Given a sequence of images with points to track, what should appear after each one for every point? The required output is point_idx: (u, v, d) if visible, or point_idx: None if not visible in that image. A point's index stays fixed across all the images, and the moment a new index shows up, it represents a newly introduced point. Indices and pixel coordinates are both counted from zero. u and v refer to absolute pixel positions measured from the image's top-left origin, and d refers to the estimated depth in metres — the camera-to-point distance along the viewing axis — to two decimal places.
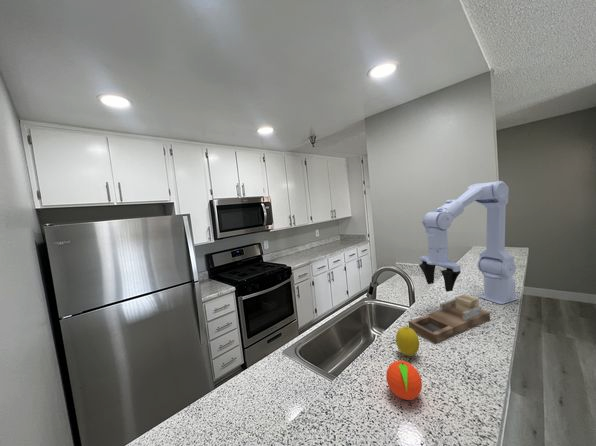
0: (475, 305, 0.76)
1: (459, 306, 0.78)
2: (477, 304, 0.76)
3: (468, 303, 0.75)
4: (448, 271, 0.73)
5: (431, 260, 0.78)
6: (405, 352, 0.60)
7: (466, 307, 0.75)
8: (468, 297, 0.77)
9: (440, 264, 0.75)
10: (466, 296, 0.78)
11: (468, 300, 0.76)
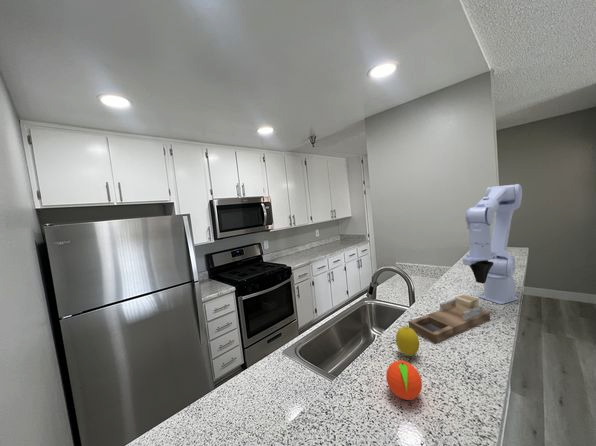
0: (475, 305, 0.76)
1: (459, 306, 0.78)
2: (477, 304, 0.76)
3: (468, 303, 0.75)
4: None
5: None
6: (405, 352, 0.60)
7: (466, 307, 0.75)
8: (468, 297, 0.77)
9: None
10: (466, 296, 0.78)
11: (468, 300, 0.76)
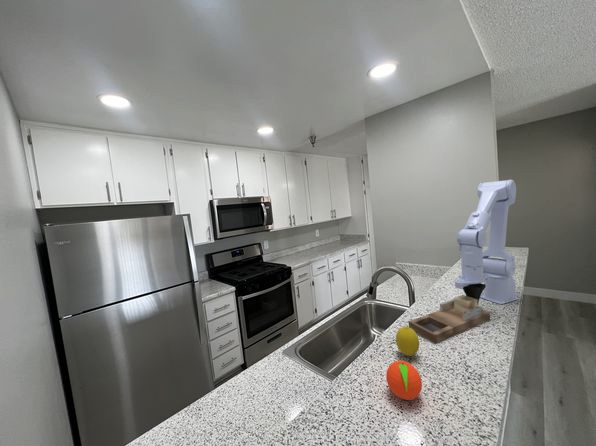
0: (474, 305, 0.75)
1: (458, 306, 0.77)
2: (476, 304, 0.76)
3: (467, 303, 0.74)
4: None
5: None
6: (405, 352, 0.60)
7: (465, 308, 0.75)
8: (467, 298, 0.77)
9: (459, 279, 0.79)
10: (465, 297, 0.78)
11: (467, 300, 0.75)
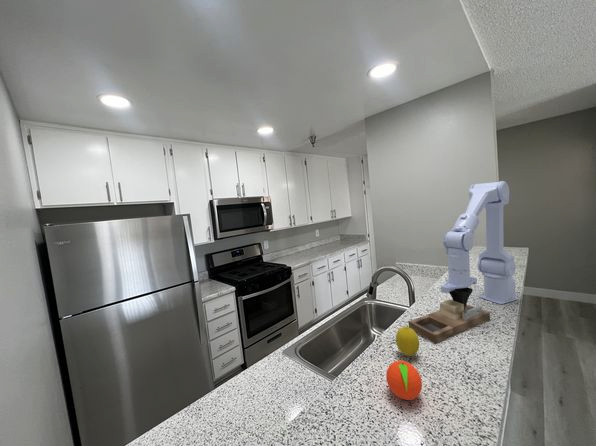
0: (460, 311, 0.73)
1: (444, 311, 0.75)
2: (462, 310, 0.73)
3: (452, 309, 0.72)
4: None
5: None
6: (405, 352, 0.60)
7: (451, 313, 0.73)
8: (453, 302, 0.75)
9: None
10: (452, 301, 0.76)
11: (453, 305, 0.73)
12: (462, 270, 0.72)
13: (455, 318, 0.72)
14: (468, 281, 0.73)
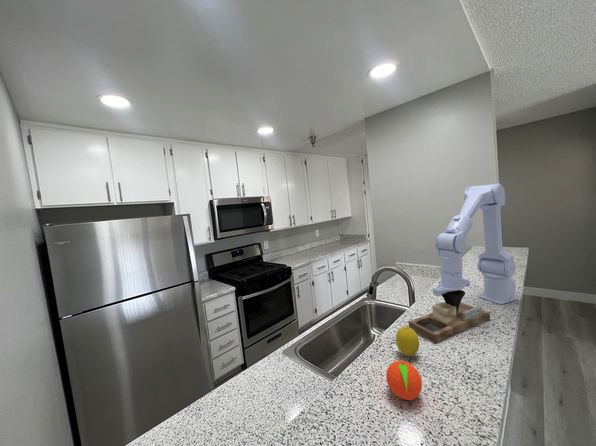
0: (452, 313, 0.72)
1: (436, 314, 0.74)
2: (454, 312, 0.72)
3: (444, 311, 0.71)
4: None
5: None
6: (405, 352, 0.60)
7: (443, 316, 0.72)
8: (446, 305, 0.74)
9: None
10: (444, 304, 0.74)
11: (445, 308, 0.72)
12: (454, 272, 0.71)
13: (447, 321, 0.71)
14: (460, 284, 0.71)
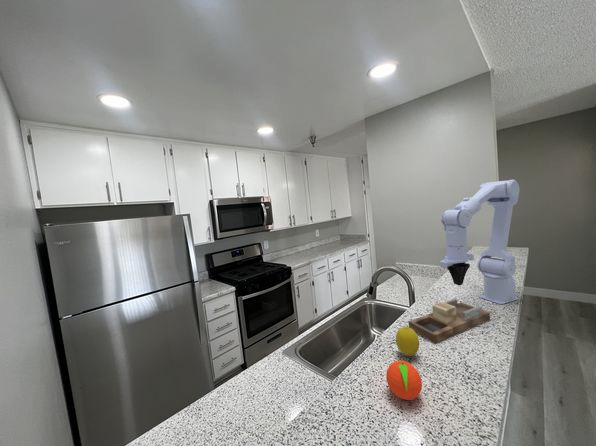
0: (452, 313, 0.72)
1: (436, 314, 0.74)
2: (454, 312, 0.72)
3: (444, 311, 0.71)
4: None
5: None
6: (405, 352, 0.60)
7: (443, 316, 0.72)
8: (446, 305, 0.74)
9: None
10: (444, 304, 0.74)
11: (445, 308, 0.72)
12: (458, 246, 0.76)
13: (447, 321, 0.71)
14: (465, 256, 0.76)
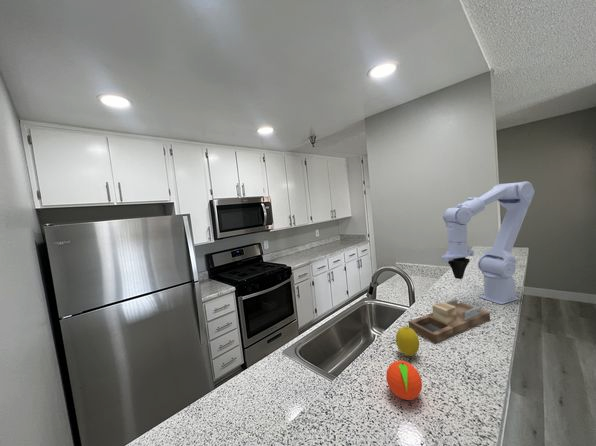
0: (452, 313, 0.72)
1: (436, 314, 0.74)
2: (454, 312, 0.72)
3: (444, 311, 0.71)
4: None
5: None
6: (405, 352, 0.60)
7: (443, 316, 0.72)
8: (446, 305, 0.74)
9: None
10: (444, 304, 0.74)
11: (445, 308, 0.72)
12: (457, 241, 0.81)
13: (447, 321, 0.71)
14: (465, 251, 0.81)
